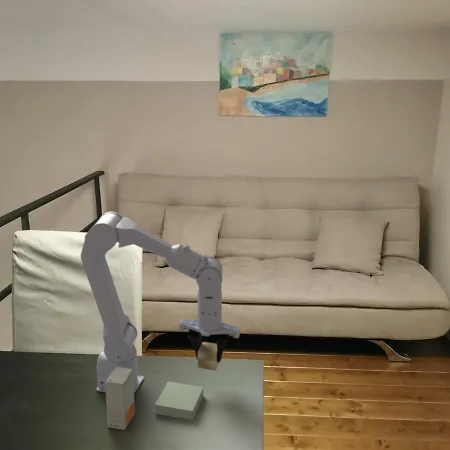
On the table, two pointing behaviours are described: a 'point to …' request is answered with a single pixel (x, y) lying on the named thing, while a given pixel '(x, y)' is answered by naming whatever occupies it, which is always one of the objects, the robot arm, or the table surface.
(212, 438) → the table surface
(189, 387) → the sage base
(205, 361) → the maple cube
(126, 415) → the skincare box
